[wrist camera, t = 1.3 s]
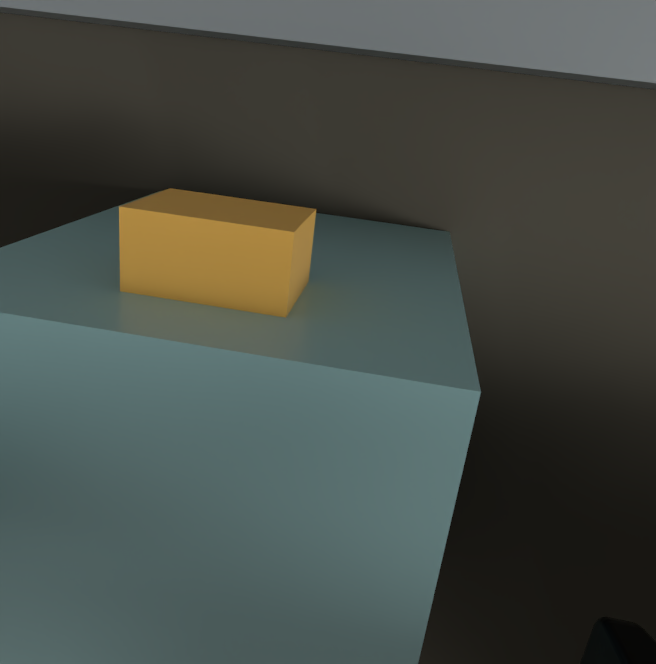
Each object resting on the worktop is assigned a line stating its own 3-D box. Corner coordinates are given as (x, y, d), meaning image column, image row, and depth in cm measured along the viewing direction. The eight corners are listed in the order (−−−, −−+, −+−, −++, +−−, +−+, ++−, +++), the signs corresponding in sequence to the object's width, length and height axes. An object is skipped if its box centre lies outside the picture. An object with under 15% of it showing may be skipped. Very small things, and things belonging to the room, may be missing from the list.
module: (458, 183, 10) (504, 292, 4) (387, 562, 13) (358, 919, 7) (161, 142, 10) (-141, 195, 5) (156, 518, 13) (-36, 821, 8)
